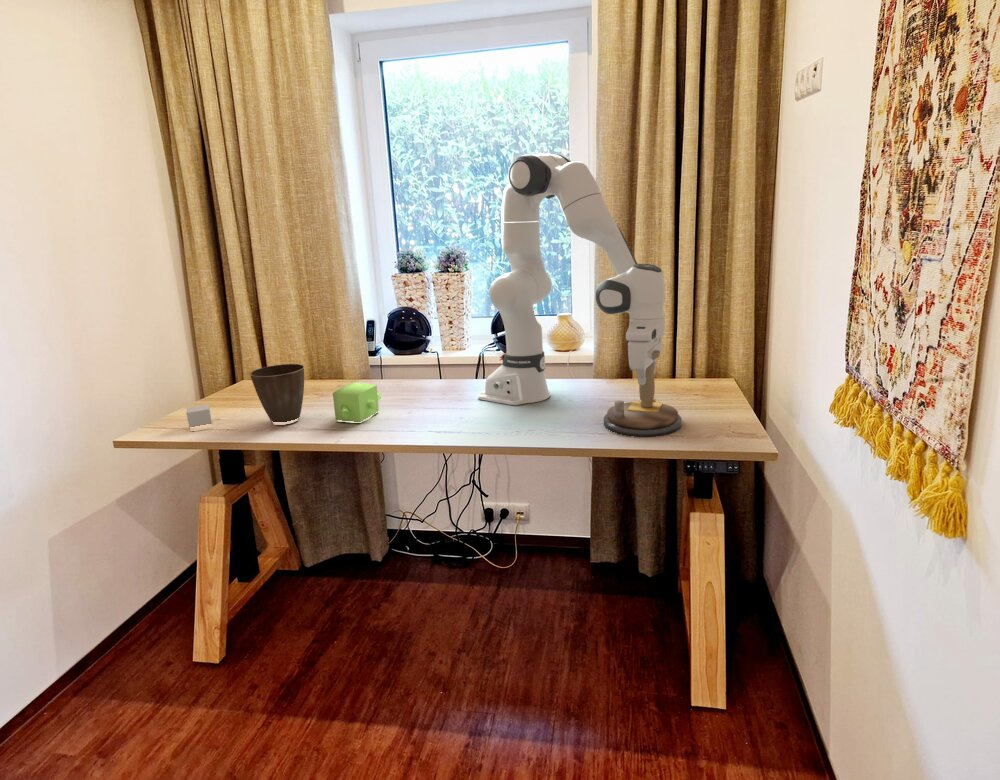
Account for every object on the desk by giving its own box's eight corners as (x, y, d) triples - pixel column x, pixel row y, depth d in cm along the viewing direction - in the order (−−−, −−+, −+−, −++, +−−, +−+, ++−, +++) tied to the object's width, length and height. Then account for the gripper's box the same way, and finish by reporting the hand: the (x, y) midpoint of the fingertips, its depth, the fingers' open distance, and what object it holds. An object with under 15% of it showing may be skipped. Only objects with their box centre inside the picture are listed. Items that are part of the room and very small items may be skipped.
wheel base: (593, 432, 160) (593, 419, 159) (618, 407, 178) (618, 396, 177) (672, 441, 151) (672, 427, 150) (689, 414, 169) (690, 401, 168)
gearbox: (357, 432, 173) (353, 399, 170) (327, 428, 177) (323, 396, 174) (389, 410, 190) (386, 381, 187) (360, 407, 193) (357, 378, 190)
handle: (658, 409, 163) (658, 353, 159) (633, 408, 165) (633, 353, 161) (660, 404, 168) (660, 349, 164) (635, 403, 170) (636, 349, 166)
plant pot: (249, 424, 184) (240, 372, 180) (294, 411, 195) (286, 361, 190) (276, 433, 174) (266, 378, 170) (321, 419, 185) (314, 366, 181)
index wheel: (650, 403, 174) (650, 384, 173) (692, 420, 158) (693, 400, 157) (594, 414, 168) (594, 394, 167) (632, 433, 152) (632, 412, 150)
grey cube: (212, 423, 188) (208, 404, 187) (212, 428, 183) (209, 409, 181) (190, 426, 186) (186, 407, 184) (190, 432, 181) (186, 412, 179)
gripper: (645, 320, 171) (645, 369, 175) (623, 335, 154) (624, 388, 157) (668, 321, 168) (667, 370, 172) (649, 336, 151) (648, 390, 155)
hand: (646, 379), depth 165 cm, fingers open, 8 cm apart
